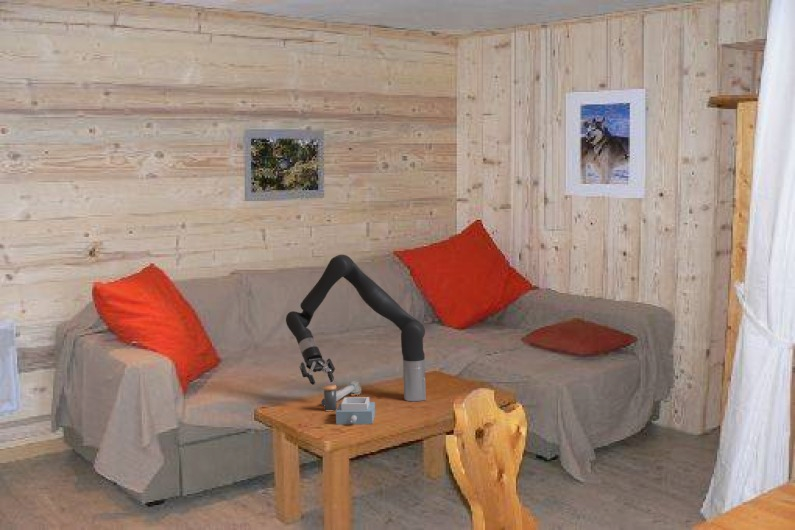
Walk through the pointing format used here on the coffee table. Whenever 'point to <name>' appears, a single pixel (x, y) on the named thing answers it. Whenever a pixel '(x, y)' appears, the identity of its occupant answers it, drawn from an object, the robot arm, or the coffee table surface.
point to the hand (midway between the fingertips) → (323, 382)
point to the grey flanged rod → (347, 391)
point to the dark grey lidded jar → (330, 397)
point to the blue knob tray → (355, 411)
